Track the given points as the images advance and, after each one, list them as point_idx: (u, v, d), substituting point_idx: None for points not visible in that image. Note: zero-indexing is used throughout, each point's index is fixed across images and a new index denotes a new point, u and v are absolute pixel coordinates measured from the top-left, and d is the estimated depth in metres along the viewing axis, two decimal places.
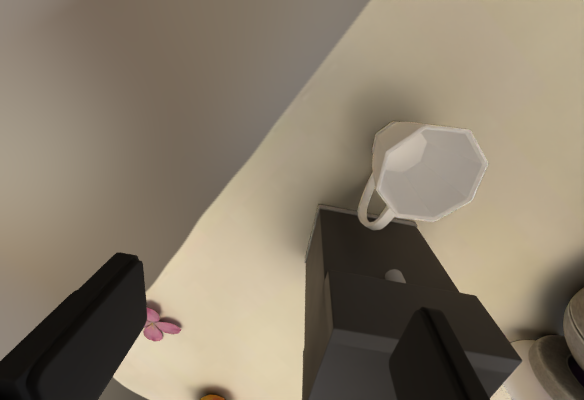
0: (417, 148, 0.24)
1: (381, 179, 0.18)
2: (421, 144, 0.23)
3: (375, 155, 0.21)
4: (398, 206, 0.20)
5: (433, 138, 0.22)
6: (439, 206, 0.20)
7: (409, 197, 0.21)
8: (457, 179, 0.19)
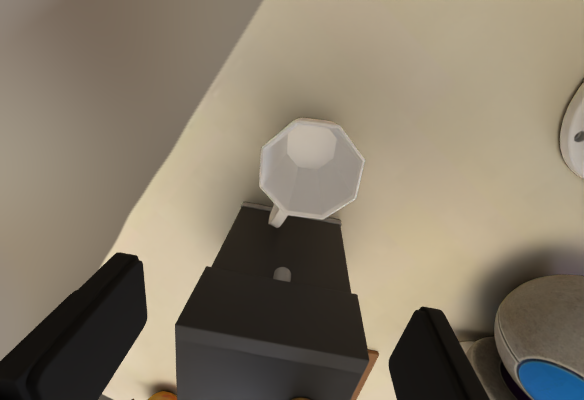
0: (328, 145, 0.23)
1: (262, 175, 0.18)
2: (331, 141, 0.23)
3: None
4: (291, 203, 0.20)
5: (335, 135, 0.21)
6: (329, 203, 0.19)
7: (308, 194, 0.21)
8: (348, 176, 0.19)
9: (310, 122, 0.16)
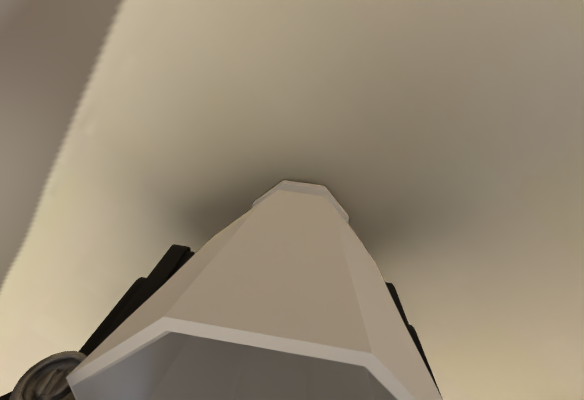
0: None
1: None
2: None
3: None
4: None
5: None
6: None
7: (276, 396, 0.08)
8: (384, 398, 0.06)
9: (236, 328, 0.04)
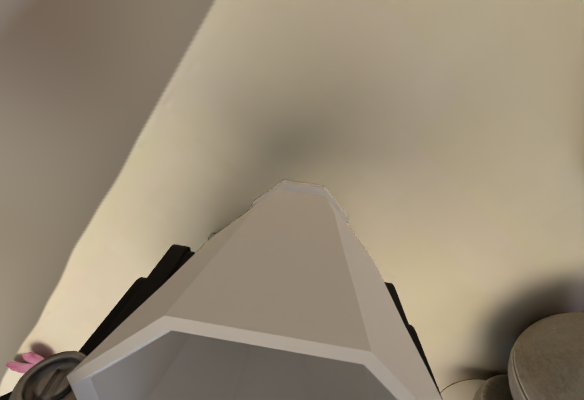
0: None
1: None
2: None
3: None
4: None
5: None
6: None
7: (276, 396, 0.08)
8: (383, 397, 0.06)
9: (236, 327, 0.04)
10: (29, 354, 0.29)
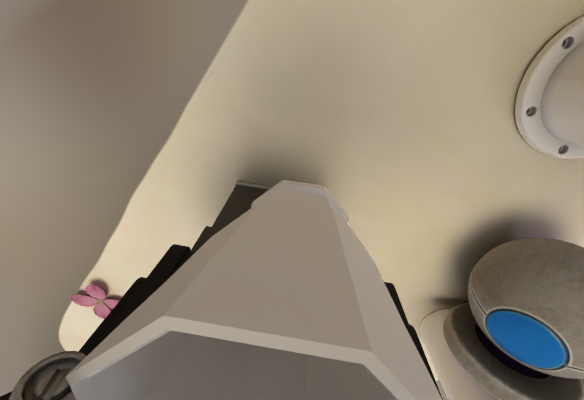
0: None
1: None
2: None
3: None
4: None
5: None
6: None
7: (275, 395, 0.08)
8: (383, 397, 0.06)
9: (235, 327, 0.04)
10: (91, 287, 0.37)
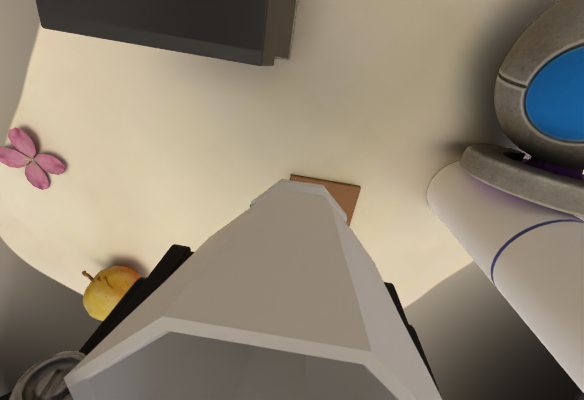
0: None
1: None
2: None
3: None
4: None
5: None
6: None
7: (275, 396, 0.08)
8: (382, 396, 0.06)
9: (235, 328, 0.04)
10: (14, 132, 0.30)
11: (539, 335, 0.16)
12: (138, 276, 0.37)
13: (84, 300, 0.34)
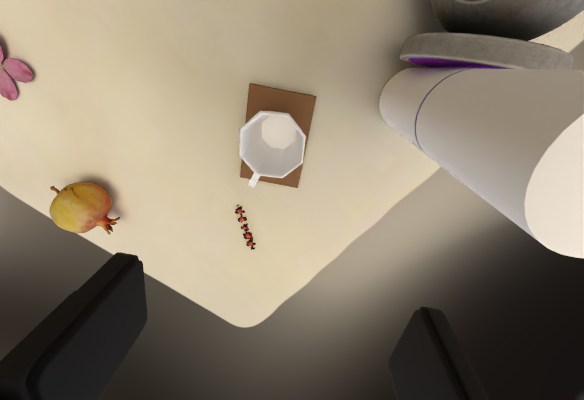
0: (290, 131, 0.33)
1: (240, 148, 0.27)
2: (292, 128, 0.33)
3: None
4: (261, 168, 0.29)
5: None
6: (287, 167, 0.29)
7: (274, 163, 0.30)
8: (299, 149, 0.29)
9: (270, 112, 0.26)
10: None
11: (442, 157, 0.18)
12: (106, 193, 0.38)
13: (50, 209, 0.35)
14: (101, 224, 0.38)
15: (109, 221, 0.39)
